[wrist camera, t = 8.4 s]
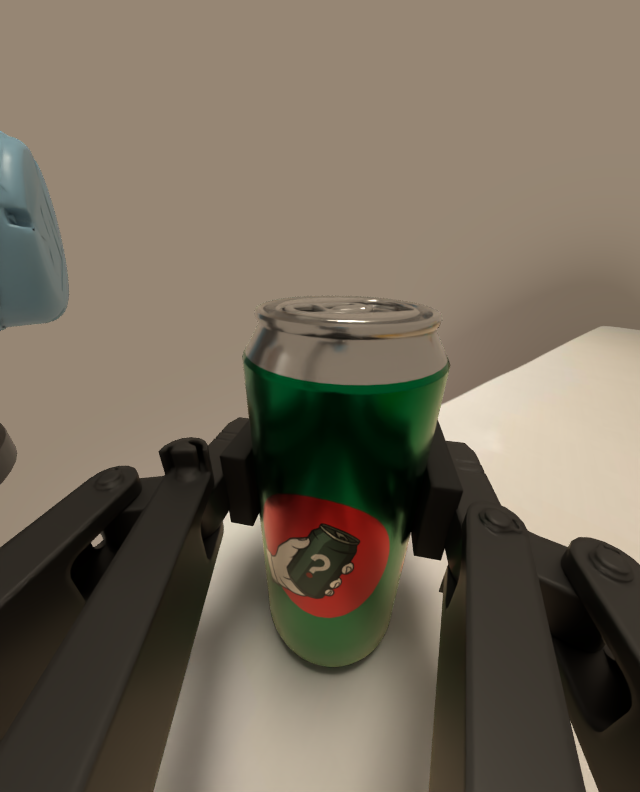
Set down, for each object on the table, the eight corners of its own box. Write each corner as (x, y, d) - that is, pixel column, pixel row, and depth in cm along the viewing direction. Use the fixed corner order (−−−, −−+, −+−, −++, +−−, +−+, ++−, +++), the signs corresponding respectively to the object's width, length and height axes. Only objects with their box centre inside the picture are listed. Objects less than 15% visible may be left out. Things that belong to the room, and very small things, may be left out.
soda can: (416, 635, 11) (520, 319, 5) (290, 707, 9) (264, 341, 4) (353, 529, 15) (378, 292, 10) (259, 564, 13) (225, 296, 8)
